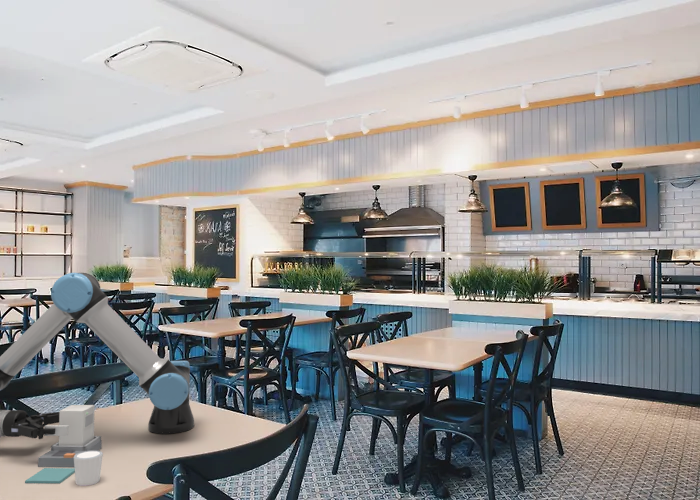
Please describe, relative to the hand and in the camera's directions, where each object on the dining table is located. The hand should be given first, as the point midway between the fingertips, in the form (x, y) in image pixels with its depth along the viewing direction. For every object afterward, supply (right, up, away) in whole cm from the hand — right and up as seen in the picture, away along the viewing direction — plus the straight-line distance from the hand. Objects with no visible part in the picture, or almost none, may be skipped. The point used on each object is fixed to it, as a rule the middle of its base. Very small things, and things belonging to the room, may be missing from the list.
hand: (79, 423), depth 165 cm
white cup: (+13, -8, -21) cm, 26 cm away
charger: (-1, -6, 0) cm, 6 cm away
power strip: (-1, -9, +1) cm, 9 cm away
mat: (+2, -8, -18) cm, 20 cm away
